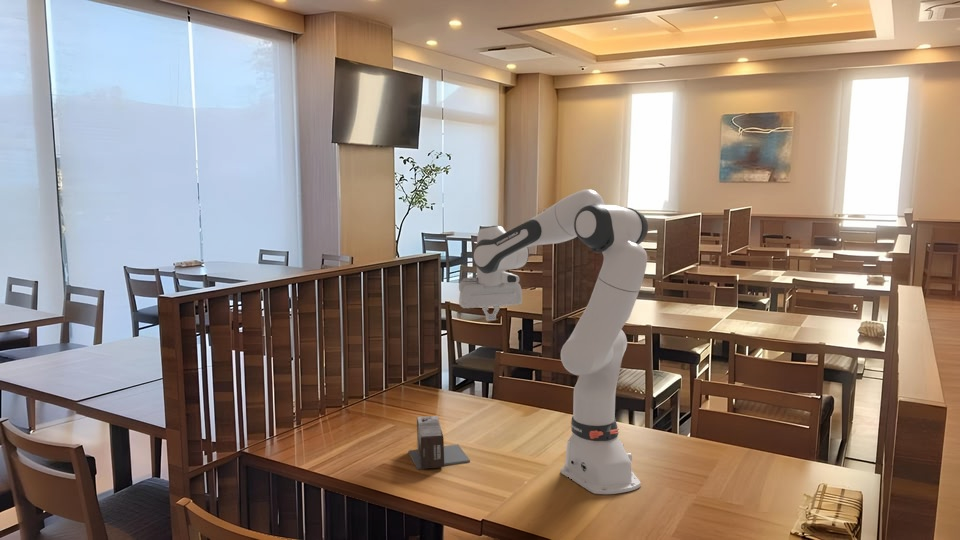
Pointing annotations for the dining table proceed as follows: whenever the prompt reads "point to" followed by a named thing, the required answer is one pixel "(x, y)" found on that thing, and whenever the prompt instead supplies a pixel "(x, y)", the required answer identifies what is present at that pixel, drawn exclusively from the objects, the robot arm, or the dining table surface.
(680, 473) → the dining table surface
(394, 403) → the dining table surface
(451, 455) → the rubber mat
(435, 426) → the coffee box
